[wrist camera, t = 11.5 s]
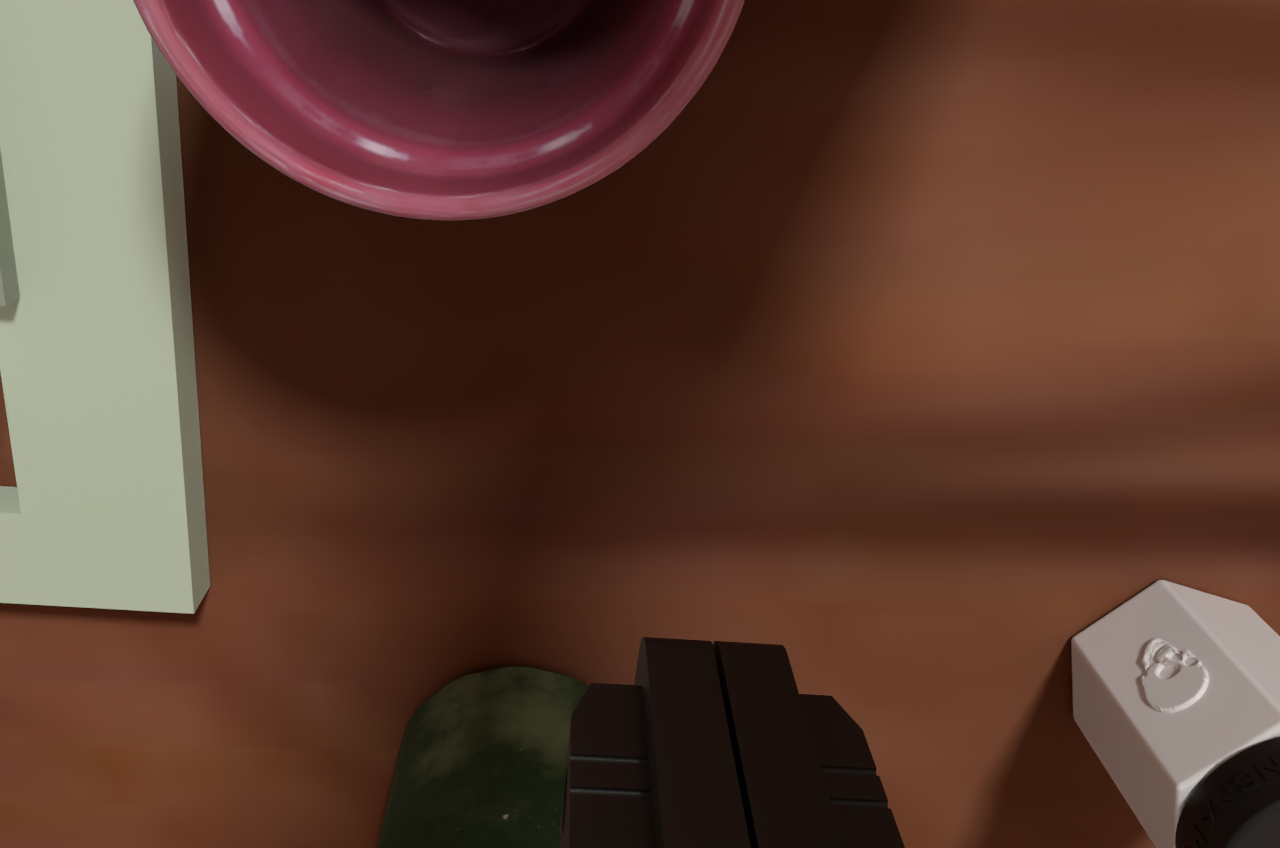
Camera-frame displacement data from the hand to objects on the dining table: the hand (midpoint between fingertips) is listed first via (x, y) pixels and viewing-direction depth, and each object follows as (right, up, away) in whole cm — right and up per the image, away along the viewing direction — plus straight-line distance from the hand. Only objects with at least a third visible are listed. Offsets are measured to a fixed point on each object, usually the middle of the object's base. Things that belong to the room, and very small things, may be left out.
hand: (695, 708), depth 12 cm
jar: (+22, -7, +36) cm, 44 cm away
